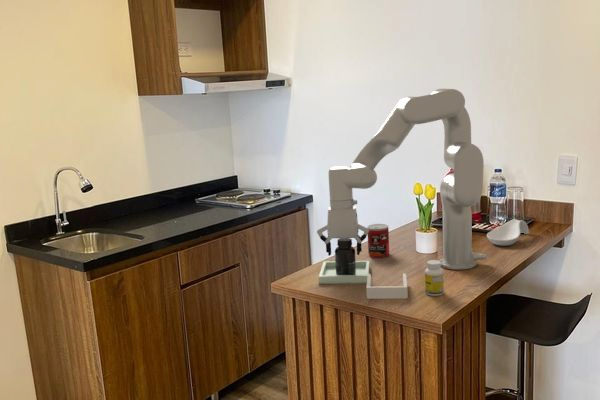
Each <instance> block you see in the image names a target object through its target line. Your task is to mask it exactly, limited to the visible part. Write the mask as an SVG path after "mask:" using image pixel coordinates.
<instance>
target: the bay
mask: <svg viewBox="0 0 600 400" xmlns="http://www.w3.org/2000/svg"><path fill="white" fill-rule="evenodd" d="M365 287H366V299H367V300H373V299H374V300H375V299H376V300H377V299H379V300H381V299H382V300H383V299H385V300H387V299H388V300H389V299H392V300H393V299H395V300H396V299H397V300H398V299H400V300H401V299H406V300H407V299H408V298H409V296H408V280H407V273H404V272H403V273H402V285H398V286H397V285H393V286H392V285H386V286H384V285H383V286H382V285H380V286H375V285H374V286H372V274H371V273H369V274H368V277H367V283H366V286H365Z"/></svg>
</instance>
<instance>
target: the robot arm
mask: <svg viewBox="0 0 600 400" xmlns="http://www.w3.org/2000/svg"><path fill="white" fill-rule="evenodd" d="M465 105H466V99H465V96H464V95H463V93H462V92H461V91H460V90H458V89H455V88H439V89H435V90H433V91H432V92H431V93H430V94H425V95H420V96H405V97H403V98H401V99H400V100H399V101H398V102H397V104H396V105H395V106H394V108H393V110H392V111H391V112H390V114H389V115H388V117H387V118H386V120H385V121H384V122H383V124H382V125H381V126H380V128H379V130H378V131H377V132H376V134H374V136H373V137H372V138H371V139H370V140H369V141H368V142H367V143H366V144H365V145H364V147H363V148H362V149H361V150H360V151H359V153H358V154H357V156H356V157H355V159H354V160H353V162H352V163H351V165H350V167H349V166H343V165H342V166H341V165H340V166H339V165H338V166H332V167H331V168H330V169H329V170H328V190H329V206H330V207H328V208H327V209H328V210H327V218H326V219H327V220H326V221H327V225H324V226H322V227H321V228H319V229H317V231H316V233H317V235H318V237H319V238H320V240H322V242H323V243H324V244H325V251H326V253H328V254H327V255H328V256H331V255H332V244H331V240H332V239H341V238H350V239H354V240H355V241H356V255H357V256H359V255H360V253H361V252H362V242H363V241H365V240H366V239H367V237H368V232H369V229H368V227H366V226H363V225H362V224H359V219H358V214H357V213H358V212H357V208H356V206H355V205H358V199H354V198H353V197H354V196H353V189H361V190H366V189H370V188H372V187H373V186H375V184H376V183H377V181H378V175H377V172H376V170H375V169H376V167H377V166H378V164H380V162H381V161H382V160H383V159H384V158H385V157H386V156H387V155H389V154H391V153H393V152H394V151H396V150H398V149H399V148H400V146H401V145H402V144H403V142H404V141H405V139H407V136H409V133H410V132H411V131H412V130H413V128H414V126H415V125H421V124H423V125H424V124H428V123H432V122H436V121H440V120H441V121H442V124H443V129H444V131H443V132H444V134H443V135H444V144H443V145H444V146H443V148H444V149H443V160H444V164H445V165H446V166H447V167H448V168H450V169H451V170H453V172H452V173H448V174H447V175H446V176H444V178H443V179H442V180H441V183H440V186H439V193H440V201H441V208H442V210H441V211H442V257H441V258H440V259H439V260H438V261H440V262H441V267H442V268H443V269H449V270H469V269H470V270H471V269H473V268H475V267H476V266H477V263H478V262H477V260H480V261H481V260H483V261H486V260H487V254H486V253H482V252H474V251H473V248H472V247H473V245H472V244H473V243H472V241H473V240H472V239H473V238H472V236H473V235H472V234H473V233H472V230H473V229H472V228H473V227H472V223H473V222H472V221H473V219H472V217H473V216H472V214H473V213H472V207H473V206H475V205H476V204H478V203H479V201H480V200H481V197H482V195H483V187H484V167H485V166H484V165H485V164H484V155H483V153H482V150H481V149H480V148H479V147H478V146H477V145H475V144H473V143H472V123H471V122H472V121H471V117H470V114H469V112H468V111H467V109H466V107H465ZM359 230H360V231H362V232H363V233H362V235H361V236H360V235H359ZM325 231H326V232H327V237H326V236H325V235H324V232H325ZM441 267H440V268H441Z"/></svg>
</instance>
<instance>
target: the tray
mask: <svg viewBox="0 0 600 400" xmlns="http://www.w3.org/2000/svg"><path fill="white" fill-rule="evenodd" d="M370 266H371V265H370V260H356V273H355V275H337V274H336V266H335V260H334V261H333V260H331V261H325V260H323V262H322V265H321V268H320V272H319V274H318V284H319V285H321V284H322V285H326V284H327V285H331V284H334V285H336V284H338V285H339V284H343V285H344V284H345V285H346V284H367V277H368V274H370V268H371V267H370Z"/></svg>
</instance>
